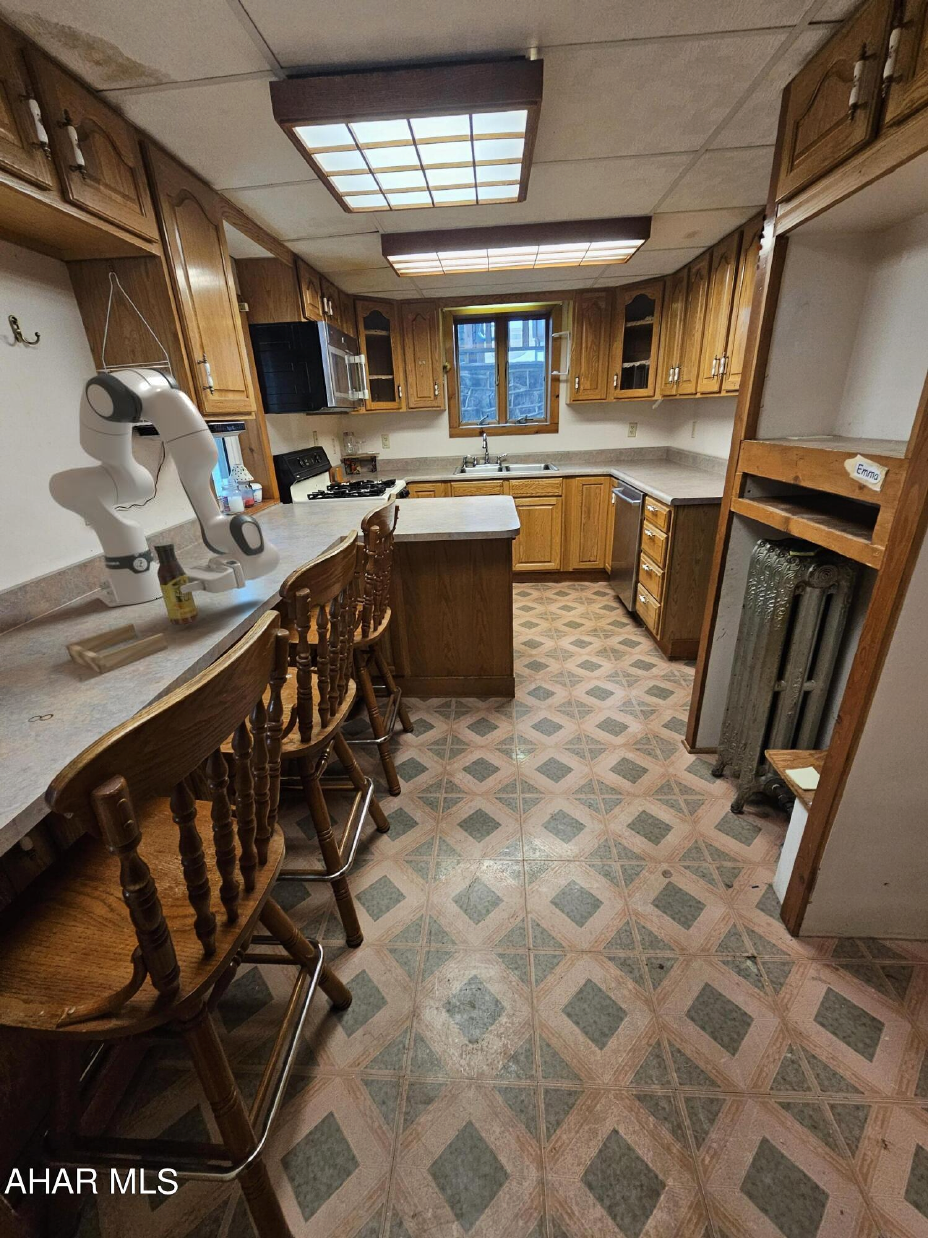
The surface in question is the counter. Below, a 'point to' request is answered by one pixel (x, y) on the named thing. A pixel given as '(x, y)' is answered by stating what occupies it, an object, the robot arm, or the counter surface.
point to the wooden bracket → (117, 658)
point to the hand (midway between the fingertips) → (171, 588)
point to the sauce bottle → (174, 586)
